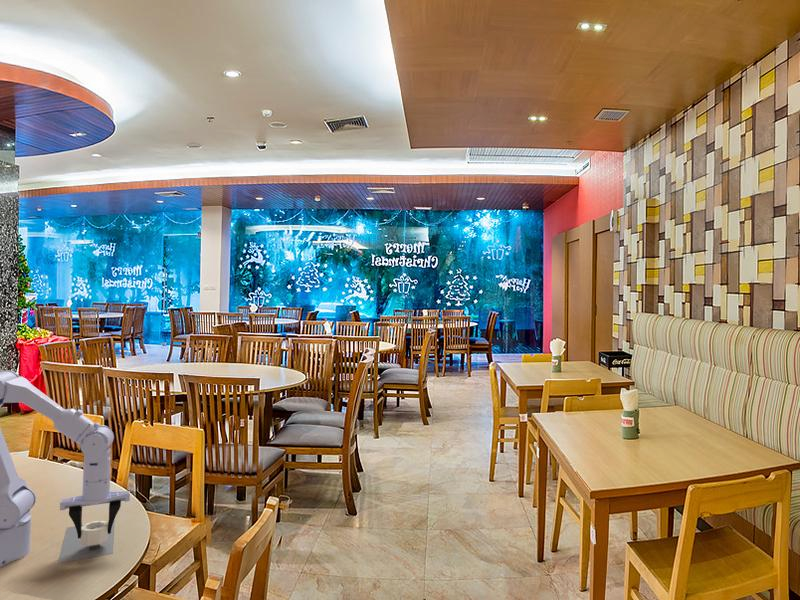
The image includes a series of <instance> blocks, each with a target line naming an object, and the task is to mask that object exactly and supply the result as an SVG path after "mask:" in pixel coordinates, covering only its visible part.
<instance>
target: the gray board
mask: <svg viewBox="0 0 800 600" xmlns="http://www.w3.org/2000/svg"><path fill="white" fill-rule="evenodd" d="M107 522H109V520H108V521H107ZM115 523H116V520H115V519H114V522H113V525H112V528H111V533H110V534H108V540H107V541H105V542H103V543H101V544H100V548H98V549H95V550H90V549H89V546H86V545H81V538H79V539H78V534H77V530H76V527H75V525H74V526H68V527H66V529H65V533H64V534H65V535H64V538H63V542H62V545H61V550H60V553H59V557H58V563H57V564H60V563H61V564H62V563H67V562H73V561H80V560H83V559H84V560H85V559H91V558H96V557H101V556H107V555H113V554H114V543H115V541H114V540H115V526H116V525H115Z"/></svg>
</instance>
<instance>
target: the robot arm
mask: <svg viewBox="0 0 800 600" xmlns="http://www.w3.org/2000/svg"><path fill="white" fill-rule="evenodd" d="M13 403H20V404H21V403H22V404H24V405H25V406H27V407H29V408H31V409H32V410H34V411H36V412H37V413H39V414H41V415H42V416H45V418H48V419H50V421H52V422H53V429H55V430H56V431H58V432H60V433H61V434H62V435H64V436H65V437H67V438H68V439H69V440H72V441H73V442H75V443H76V444H78V445H79V447H80V450H81V452H82V453H83V468H82V470H83V472H82V495H78V496H72V497H69V498H62V499H61V500H60V501H59V511H64V510H66V509H69V510H68V515H69V517H70V519H71V520H72V522H73V524H74V526H75V527H76V530H77V534H78V539H79V538H81V528H82V525H83V521H82V518H83V507H88V506H94V505H95V506H97V505H104V504H108V505H109V506H108V521H109V522H108V521H107V522H108V534H110V533H111V528H112V525H113V522H114V520H115V519H116V516H117V514H118V512H119V511H120V509H121V506H122V502H125V503H126V502H130V499H131V497H130V496H131V491H130V490H127V491H126V490H124V491H111V462H112V461H111V459H112V458H111V457H112V456H111V449H112V448H111V447H110V446H111V445H112V444H113V442H114V439H115V435H114V432H113V431H112V429H111V428H110V427H109V425H108V426H107V425H103V424H100V423H99V422H98V421H96V422H94V421H93V420H91V419H90V418H88V417H87V416H86V415H84V411H83V410H81V409H79V408H78V410H76V409H75V408H64V407H62V406H61V405H60V404H59V403H57V402H56V401H54V400H53V399H52V398H51V397H49V396H47V394H45V393H44V392H42V391H41V390H40V389H38V388H37V387H36V386H34V385H33V384H32V383H31V382H30V381H29V380H28V379H27V378H25V377H24V376H20V375H19V374H18V373H17V372H15V371H13V370H9V369H7V370H6V369H5V370H4V369H3V370H0V409H1V408H2V406H3V405H4V404H13ZM36 501H37V496H36V492H34V490H33V489H31V488H30V487H29V486H28V484H27V481H26V480H25V479H23V478H22V477H20V476H19V475H18V473H17V470H16V467H15V464H14V462H13V459H12V456H11V453H10V451H9V448H8V445H7V442H6V440H5V436H4V434H3V430H2V428H1V427H0V568H1V567H3V566H5V565H7V564H10V563H11V562H13V561H16V560H19V559H22V558H24V557H26V556H27V555H28V554H30V552H31V543H32V542H31V539H32V538H31V537H32V536H31V534H32V515H31V509H32V508H34V506H35V504H36Z"/></svg>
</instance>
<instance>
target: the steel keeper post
mask: <svg viewBox="0 0 800 600" xmlns="http://www.w3.org/2000/svg"><path fill="white" fill-rule="evenodd" d="M97 528H100V527H93V528H91V529H97ZM98 548H100V544H98V545H92V546H89V549H90V550H95V549H98Z"/></svg>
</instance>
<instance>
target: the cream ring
mask: <svg viewBox="0 0 800 600" xmlns="http://www.w3.org/2000/svg"><path fill="white" fill-rule="evenodd" d="M93 527H100V528H97V529H91V528H93ZM107 540H108V521H107V520H106V521H105V520H95V521H89V522H87V523H85V524H82V528H81V545H86V546H92V545H98V544H101V543H103V542H105V541H107Z"/></svg>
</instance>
